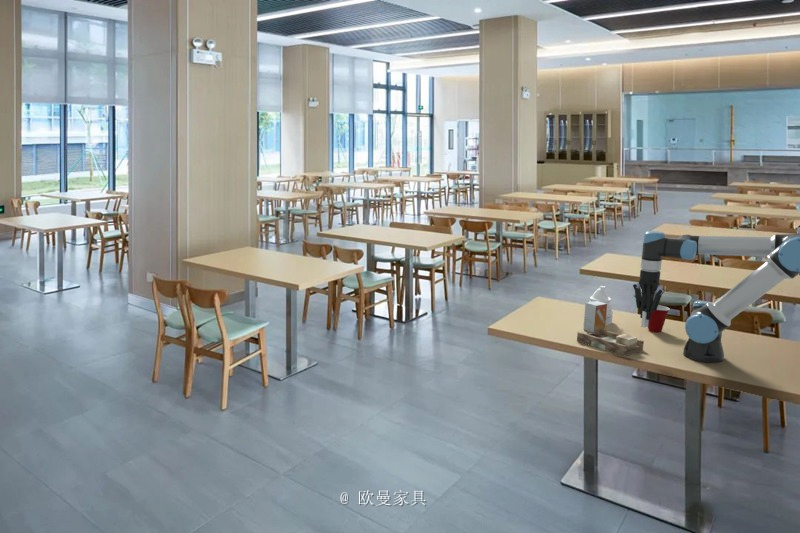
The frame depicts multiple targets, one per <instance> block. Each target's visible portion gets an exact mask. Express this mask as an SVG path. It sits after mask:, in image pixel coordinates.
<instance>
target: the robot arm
mask: <svg viewBox="0 0 800 533" xmlns="http://www.w3.org/2000/svg"><path fill="white" fill-rule="evenodd" d="M643 237H644V238H643V241H642V252H641V253H642V254H641V263H640V272H639V281H638V282H637V283H634V284H633V285H632V287H633V289H634V295H635V296H634V297H635V304H636V305H635V306H636V308H637V309H639V310H640V315H639V316H640V319H641V322H640V323H641V324H640V327H641V328H648V322H649V320H650V319H651V312H653V311H656V310H657V307H658V305H660V304H659V303H660V301H661V298H662V295H663V294H664V293H665V291H666V290H665V289H664V288H663V289H662V288H661V286H660V279H661V269H662V260H663V257H665V258H671V259H672V258H673V259H678V260H684V261H685V260H690V261H692V260H695V258H696V256H697V255H706V256H707V255H708V256H709V255H711V256H733V257H734V256H736V257H737V256H738V257H741V256H742V257H760V258H761V257H763V258H764V257H766V261H765V262H764V263H763V264H761V265H760V266H759V267H757V268H756V269H755V270H753V271H752V272H751V273H750V274H748V275H747V276H746V277H745V278H743V280H741V281H740V282H738V283H737V284H736V285H735V286H733V287H732V288H731V289H729V290H728V291H727V292H725V293H724V294H723V295H722V296H721V297H719V298H718V299H716V300H715V301H714V302H713V301H705V300H695V301H694V302H693V304H692V313H691V315H690V316H688V317H687V319H686V320H685V327H684V328H685V332H686V333H685V334H686V335H687V337H688V339H687V341H686V343H685V346H684V347H683V353H682V354H683V356H684V357H687V358H689V359H691V360H694V361H696V362H697V361H698V362H704V363H720V362H723V361H724V359H725V352H724V347H723V343H722V336H723V332H724V331H725V330H726V329H728V328H729V327H730V326H731V322H732V320H733V319H734V318H735V317H736V316H738V315H739V314H740V313H742V312H743V311H744V310H746V309H747V308H749V307H750V306H752V305H753V303H755V302H756V301H758V300H759V299H761V298H762V297H763V296H764V295H765V294H767V293H768V292H770V291H771V290H772V289H773V288H775V287H776V286H777V285H779V284H780V283H781V282H783V281H784V280H786V279H789V280H791V279H792V280H793V279H794V278H795V277H798V276H799V275H800V233H799V232H798V233H786V234H783V233H782V234H778V233H777V234H773V235H772V236H734V235H733V236H731V235H730V236H729V235H728V236H727V235H691V234H683V235H680V236H679V237H677V238H671V237H670V238H668V237H665V233H664V232H662V231H657V230H647V231H646V232H645V233H644V236H643ZM655 292H656V294H655Z"/></svg>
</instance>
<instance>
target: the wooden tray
mask: <svg viewBox="0 0 800 533" xmlns="http://www.w3.org/2000/svg"><path fill="white" fill-rule="evenodd" d="M619 335H621V334H620V333H616V332H612V331H610V330H606V329H605V330H603V329H599V328H594V332H589V333H585V332H581V331H577V336H576V341H577V342H579V343H582V344H585V343H586V344H585V345H588V344H589V346H591V345H592V347H593V348H598V349H601V350H604V351H608V352H611V353H614V354H617V355H620V356H624V357H626V356H629V355H632V354H637V353H639V352H642V351H644V342H645V341H644V340H641V339H638V338H637V346H636V347H633V348H630V349H627V346H625V345H622V344H618V343H616V336H619Z"/></svg>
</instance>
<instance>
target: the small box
mask: <svg viewBox="0 0 800 533" xmlns="http://www.w3.org/2000/svg"><path fill="white" fill-rule="evenodd" d="M606 312H607V304H606V303H603V302H599V301H594V302H589V301H588V302H585V305H584V315H583V316H584V317H583V318H584V320H583V331H586V330H587V332H589V331H590V332H589V333H593V332H594V328H599V329H603V330H606V325H605V324H606Z"/></svg>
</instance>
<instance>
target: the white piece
mask: <svg viewBox="0 0 800 533" xmlns="http://www.w3.org/2000/svg"><path fill="white" fill-rule="evenodd" d="M594 301H599V302H603V303H606V304H607V312H606V324H605V326H609V325H612V324H613V314H614V313H613V310H612V305H611V301H612V298H611V297H609V296H608V294H607V291H606V285H604V286H603V285H600V286H599V288H597V289H596V290H595V291H594V293H593V294H592V295H591V296H590V297H589V301H588V302H594Z"/></svg>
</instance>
